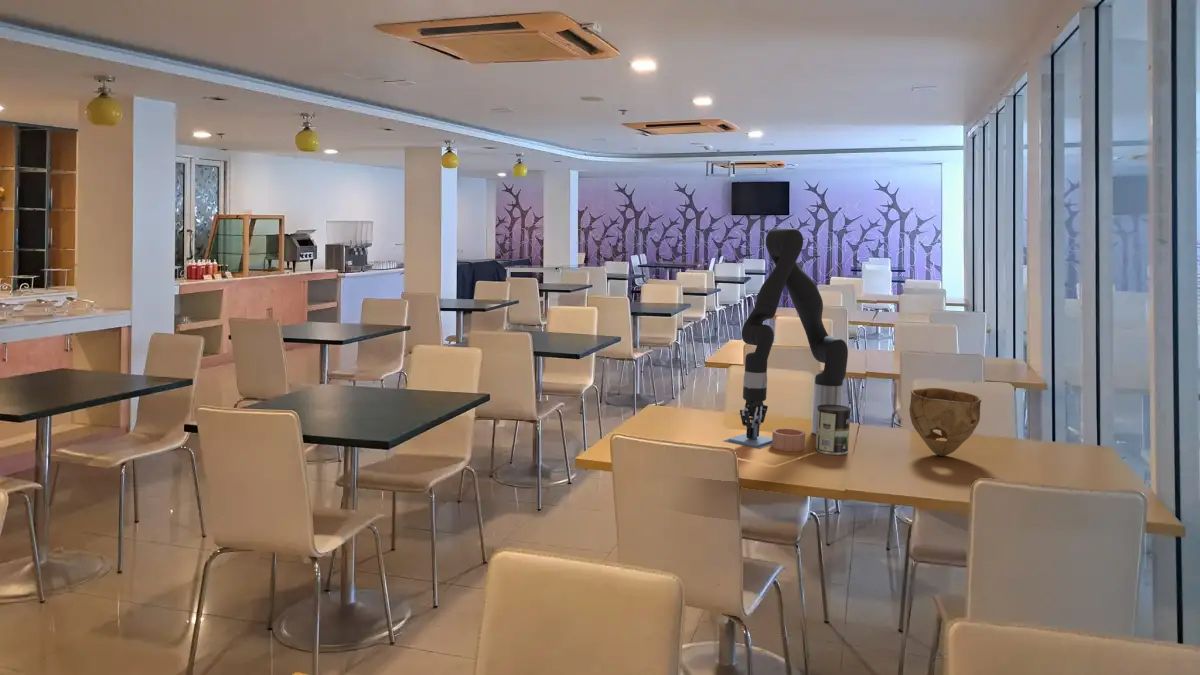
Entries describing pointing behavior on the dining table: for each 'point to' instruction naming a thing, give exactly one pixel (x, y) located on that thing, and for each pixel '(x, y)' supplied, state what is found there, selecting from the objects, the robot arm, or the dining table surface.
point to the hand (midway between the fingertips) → (752, 437)
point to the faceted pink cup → (788, 439)
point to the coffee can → (832, 429)
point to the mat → (748, 445)
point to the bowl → (944, 417)
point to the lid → (752, 442)
